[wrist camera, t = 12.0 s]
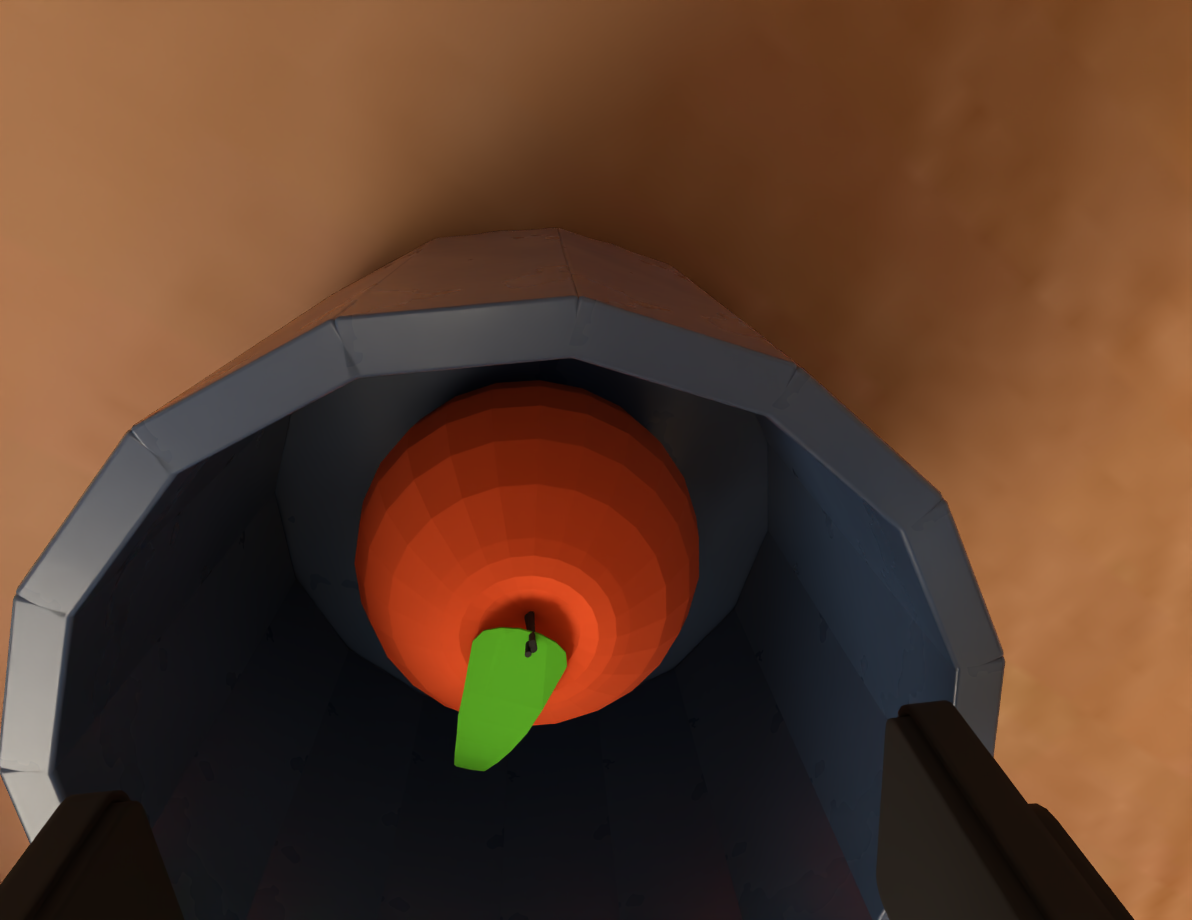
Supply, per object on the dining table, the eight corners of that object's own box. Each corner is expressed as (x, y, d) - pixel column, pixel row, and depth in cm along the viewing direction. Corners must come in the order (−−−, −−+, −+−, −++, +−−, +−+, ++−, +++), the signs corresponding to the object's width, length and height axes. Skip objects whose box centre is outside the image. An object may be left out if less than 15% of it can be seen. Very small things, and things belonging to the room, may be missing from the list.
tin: (791, 204, 18) (1058, 250, 9) (787, 692, 23) (959, 1055, 14) (196, 256, 18) (-181, 363, 8) (317, 743, 23) (163, 1158, 13)
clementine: (601, 669, 22) (630, 893, 15) (346, 602, 20) (255, 815, 14) (714, 399, 19) (808, 525, 13) (432, 305, 18) (371, 390, 11)
